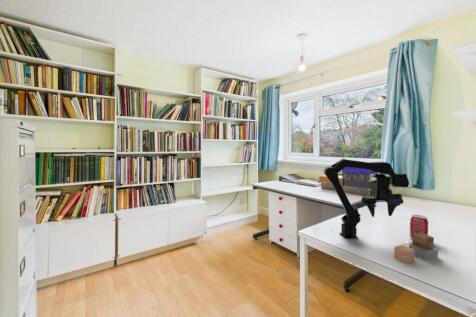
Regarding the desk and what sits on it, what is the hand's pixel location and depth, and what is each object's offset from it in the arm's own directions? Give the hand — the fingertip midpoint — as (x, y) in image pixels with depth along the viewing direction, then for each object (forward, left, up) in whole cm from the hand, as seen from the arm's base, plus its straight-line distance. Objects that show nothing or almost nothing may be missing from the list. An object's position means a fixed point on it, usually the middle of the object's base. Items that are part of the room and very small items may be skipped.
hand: (381, 216), depth 112 cm
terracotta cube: (-5, -20, -12) cm, 23 cm away
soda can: (+17, -5, -12) cm, 21 cm away
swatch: (+11, -10, -12) cm, 19 cm away
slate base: (+6, -17, -12) cm, 22 cm away
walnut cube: (+5, -17, -8) cm, 20 cm away
